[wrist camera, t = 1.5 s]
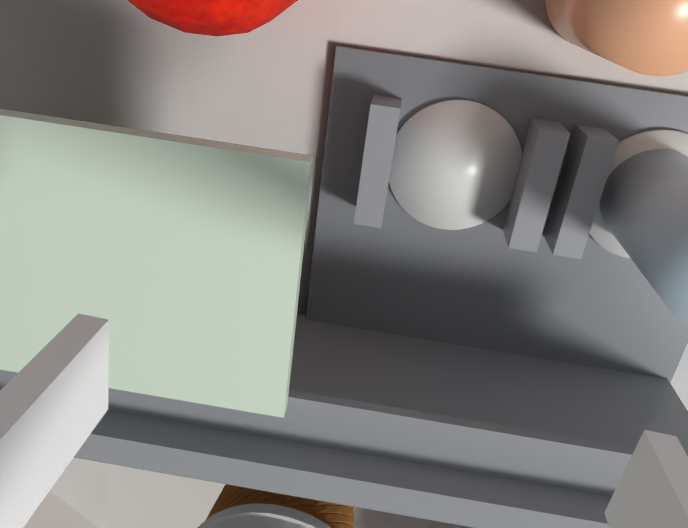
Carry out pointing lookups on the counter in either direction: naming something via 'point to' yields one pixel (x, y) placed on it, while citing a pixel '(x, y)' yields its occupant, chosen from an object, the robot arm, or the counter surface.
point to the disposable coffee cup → (274, 511)
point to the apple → (213, 14)
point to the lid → (154, 255)
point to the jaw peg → (627, 31)
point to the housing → (464, 305)
